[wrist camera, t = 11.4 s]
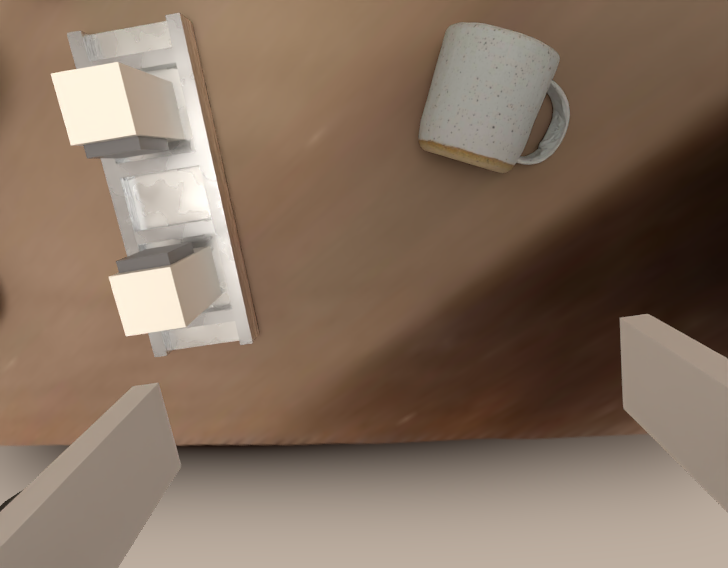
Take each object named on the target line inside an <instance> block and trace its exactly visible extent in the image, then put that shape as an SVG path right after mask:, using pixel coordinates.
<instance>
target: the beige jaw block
mask: <svg viewBox="0 0 728 568" xmlns="http://www.w3.org/2000/svg"><path fill="white" fill-rule="evenodd" d="M116 263H117V267H118V270H119V272H118V273H116V274H114V275H111V276H109V280H110V283H111V287H112V290H113V294H114V297H115V300H116V304H117V307H118V311H119V314H120V318H121V321H122V324H123V328H124V331H125V335H126V336H131V335H138V334H144V333H151V332H157V331H164V330H170V329H177V328H183V327H187V326H188V325H189V324H190V323H191V322H192V321H193V320H194V319H195V318H197V317H198V316H199V315H200V314H201V313H202V312H203V311H204V310H205V309H207V308H208V307H209V306H210V305H211V304H212V303H213V302H214V301H215V300H217V299H218V298H219V297H220V296H221V295H222V293H221V288H220V284H219V280H218V276H217V272H216V268H215V263H214V259H213V255H212V251H211V247H210V246H204V247H198V248H193V246H192V242H187V243H181V244H175V245H169V246H163V247H157V248H150V249H145V250H143V251H140V252H138V253H135V254H133V255H130V256H128V257H125V258H123V259H120V260H118V261H116Z"/></svg>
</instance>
